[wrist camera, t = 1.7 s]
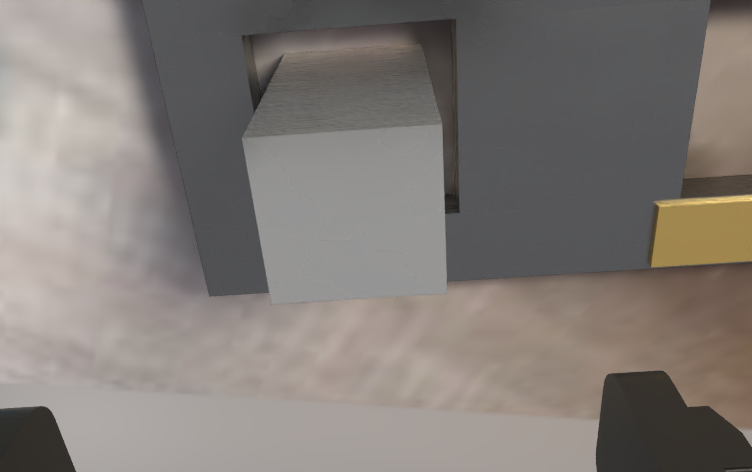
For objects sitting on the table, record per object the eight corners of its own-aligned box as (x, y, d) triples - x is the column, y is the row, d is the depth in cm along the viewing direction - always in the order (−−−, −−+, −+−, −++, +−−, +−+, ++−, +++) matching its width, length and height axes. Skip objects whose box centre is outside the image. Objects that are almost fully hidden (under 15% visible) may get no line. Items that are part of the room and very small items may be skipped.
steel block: (421, 43, 22) (442, 124, 15) (426, 170, 24) (447, 293, 17) (284, 53, 22) (242, 138, 15) (301, 179, 24) (271, 304, 17)
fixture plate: (1027, -133, 20) (1080, -134, 18) (904, 230, 25) (937, 253, 24) (144, -61, 21) (126, -56, 19) (217, 274, 26) (208, 299, 25)
